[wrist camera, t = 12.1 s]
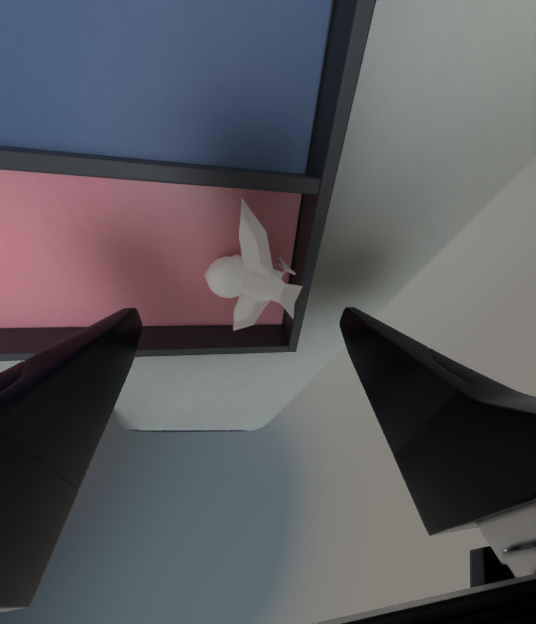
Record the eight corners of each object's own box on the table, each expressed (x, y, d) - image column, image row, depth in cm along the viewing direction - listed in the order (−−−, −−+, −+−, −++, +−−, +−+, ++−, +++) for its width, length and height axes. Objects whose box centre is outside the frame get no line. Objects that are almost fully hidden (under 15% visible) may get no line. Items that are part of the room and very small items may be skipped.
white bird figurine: (195, 188, 10) (230, 214, 6) (281, 196, 12) (339, 219, 9) (201, 323, 14) (223, 377, 11) (262, 311, 16) (296, 354, 13)
